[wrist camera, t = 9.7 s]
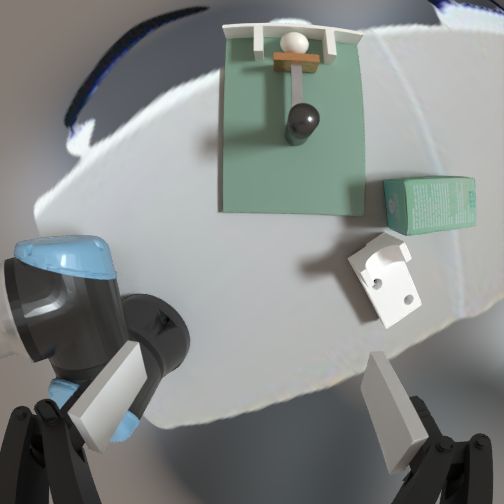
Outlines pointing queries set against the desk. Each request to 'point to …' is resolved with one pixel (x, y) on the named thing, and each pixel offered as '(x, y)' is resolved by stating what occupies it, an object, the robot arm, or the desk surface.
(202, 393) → the desk surface
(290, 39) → the ball
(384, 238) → the bracket
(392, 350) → the desk surface
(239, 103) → the pitch
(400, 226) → the box
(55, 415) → the robot arm
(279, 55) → the small squeegee
